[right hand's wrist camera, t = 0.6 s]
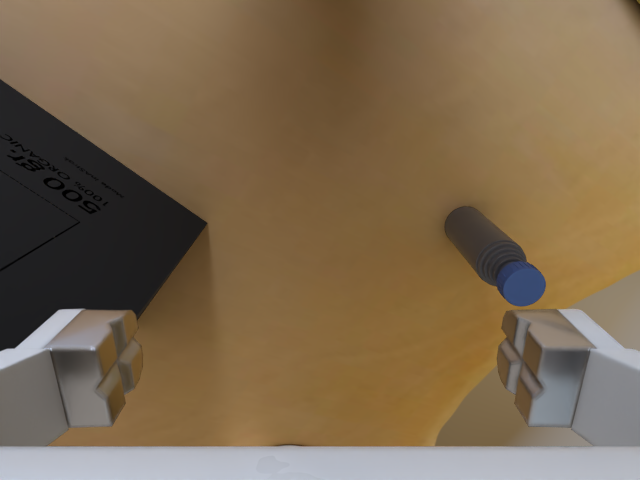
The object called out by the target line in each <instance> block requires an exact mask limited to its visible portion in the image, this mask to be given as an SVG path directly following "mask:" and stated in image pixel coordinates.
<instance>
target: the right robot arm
mask: <svg viewBox="0 0 640 480" xmlns="http://www.w3.org/2000/svg"><path fill="white" fill-rule="evenodd" d="M501 328H502V330H503V331H504V333H505V335H506V336H507V338H506V339H505V340H504V341H503V342H502V343H501V344H500V345H499V346H498V354H497V365H498V373H499V376H500V379H501V381H502V383H503V385H504V387H505V388H506V389H507V390H509V391H510V392H512V393H513V394H515V395H516V397H515V402H514V404H515V405H516V407H517V409H518V410H519V412H520V413H521V415H522V417H523V418H524V420H525V422H526V423H527V425H528V426H531V427H567V428H572V429H571V430H573V431H574V432H575V433H577V434H578V435H580V436H581V437H582V438H583V439H585V440H586V441H588V442H589V443H590V444H592V445H593V446H47V445H49V444H50V443H51V442H53V441H54V440H55V439H57V438H58V437H59V436H61V435H62V434H63V433H65V432H66V431H68V428H73V427H108V426H112V425H113V423H114V422H115V420H116V418H117V417H118V415H119V413H120V412H121V410H122V409H123V407H124V405H125V404H126V402H125V397H124V395H125V394H127V393H128V392H130V391H131V390H133V389H134V388H135V387H136V385H137V383H138V381H139V379H140V375H141V371H142V367H143V353H142V346H141V345H140V344H139V343H138V342H137V341H136V340H135V339H134V338H133V336H134V335H135V333H136V331H137V330H138V323H137V318H136V314H135V313H134V312H133V311H132V310H105V309H62V310H58V311H57V312H56V313H55V314H54V315H52V316H51V317H50V318H49V319H48V320H47V321H46V322H44V323H43V324H42V325H41V326H40V327H39V328H38V329H37V330H35V331H34V332H33V333H32V334H31V335H30V336H29V337H27V338H26V339H25V340H24V341H23V342H22V343H21V344H20V345H18V346H17V347H16V348H15V349H5V350H3V351H0V480H640V351H637V350H635V349H625V348H624V347H623V346H622V345H621V344H619V343H618V342H617V341H616V340H615V339H614V338H613V337H611V336H610V335H609V334H608V333H607V332H606V331H605V330H604V329H602V328H601V327H600V326H599V325H598V324H597V323H596V322H594V321H593V320H592V319H591V318H590V317H589V316H588V315H587V314H585V313H584V312H583V311H582V310H579V309H538V310H510V311H506V313H505V315H504V317H503V322H502V327H501Z"/></svg>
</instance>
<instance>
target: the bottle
mask: <svg viewBox="0 0 640 480" xmlns="http://www.w3.org/2000/svg"><path fill="white" fill-rule="evenodd" d="M445 232H446V235H447V236H448V238H449V239H450V240H451V241H452V243H453V244H454V245H455V246H456V248H457V249H458V250H459V252H460V253H461V254H462V255H463V257H464V258H465V259H466V260H467V262H468V263H469V264H470V265H471V267H472V268H473V269H474V270H475V272H476V273H477V274H478V275H479V277H480V278H481V279H482V280H483V281H485V282H487V283H488V284H490V285H493V286H497V285H496V284H497V281H496V280H497V277H498V274H499V273H500V271H501V270H502V269H503V268H504V267H505V266H507V265H508V264H510V263H512V262H517V261H524V262H526V256H525V254H524V252H523V250H522V248H521V247H520V246H519V245H518V244H517V243H515V242H514V241H513V240H512V239H511V238H510V237H508V236H507V235H506V234H505V233H504V232H503V231H501V230H500V229H499V228H498V227H497V226H495V225H494V224H493V223H492V222H491V221H490V220H488V219H487V218H486V217H485V216H484V215H483V214H481V213H480V212H479V211H478V210H476V209H475V208H472V207H460V208H458V209H456V210H454V211H453V212H452V213H450V215H449V216H448V217H447V219H446V222H445Z"/></svg>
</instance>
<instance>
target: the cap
mask: <svg viewBox="0 0 640 480" xmlns="http://www.w3.org/2000/svg"><path fill="white" fill-rule="evenodd" d="M496 281H497V284H496V285H497V289H498V290H499V292H500V294H501V295H502V296H503V297H504V298H505V299H506V300H507V301H508V302H509V303H511V304H513V305H515V306H527V305H530V304H533V303H534V302H536V301H537V300H539V299H540V297H541V296H542V295H543V293H544V291H545V287H546V283H545V279H544V277H543V275H542V274H541V272H540V271H538V269H536V268H535V267H534V266H533V265H532V264H529V263H528V262H524V261H517V262H512V263H510V264H508V265H507V266H505V267H504V268H503V269H502V270H501V271H500V273H499V274H498V277H497V280H496Z"/></svg>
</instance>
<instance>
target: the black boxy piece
mask: <svg viewBox="0 0 640 480" xmlns="http://www.w3.org/2000/svg"><path fill="white" fill-rule="evenodd" d="M18 144H20V145H18ZM21 145H22V146H23V147H22V148H21ZM27 149H29V150H30V151H29V150H27ZM11 150H12V151H11ZM14 151H16V152H15V153H14ZM31 152H33V154H32V156H31ZM34 154H35V155H36V156H35V155H34ZM19 156H20V158H22V157H24V158H23V159H21V160H20V159H19ZM28 159H31V162H29V161H30V160H29V161H27V160H28ZM43 159H44V160H45V161H44V160H43ZM46 161H47V162H46ZM49 163H50V166H49ZM33 164H35V165H34V166H33ZM38 164H39V165H38ZM23 166H25V167H26V168H24V167H23ZM33 167H34V168H36V169H37V168H38V167H39V169H38V170H36V169H34V168H33ZM41 167H42V169H44V168H45V170H42V169H41ZM53 167H55V168H54V169H55V171H54V169H52V168H53ZM57 169H59V170H57ZM30 170H31V171H30ZM61 172H62V173H61ZM63 173H64V174H63ZM65 174H67V175H65ZM9 176H10V177H9ZM68 176H69V177H70V178H69V177H68ZM45 178H46V181H47V182H48V183H47V186H46V185H45V183H46V181H44V180H45ZM52 178H55V179H53V180H52ZM66 178H68V179H66ZM56 179H58V181H61V182H62V183H60V182H58V181H56ZM15 180H16V181H15ZM43 181H44V182H43ZM18 182H19V183H18ZM63 183H64V185H65V188H64V185H63V187H62V186H61V185H62V184H63ZM23 185H24V186H23ZM29 189H30V190H29ZM35 193H36V194H35ZM40 196H41V197H40ZM43 198H44V199H43ZM51 203H52V204H51ZM55 206H56V207H55ZM58 208H59V209H58ZM64 212H66V213H64ZM68 214H69V215H68ZM206 225H207V223H206V222H205V221H203V220H202V219H201V218H199V217H198V216H196V215H195V214H193V213H192V212H190V211H189V210H188V209H186V208H185V207H183V206H182V205H180V204H179V203H178V202H176V201H175V200H173V199H172V198H170V197H169V196H167V195H166V194H165V193H163V192H162V191H160V190H159V189H157V188H156V187H154V186H153V185H152V184H150V183H149V182H147V181H146V180H144V179H143V178H141V177H140V176H139V175H137V174H136V173H134V172H133V171H131V170H130V169H129V168H127V167H126V166H124V165H123V164H121V163H120V162H118V161H117V160H116V159H114V158H113V157H111V156H110V155H108V154H107V153H105V152H104V151H103V150H101V149H100V148H98V147H97V146H95V145H94V144H92V143H91V142H90V141H88V140H87V139H85V138H84V137H82V136H81V135H80V134H78V133H77V132H75V131H74V130H72V129H71V128H69V127H68V126H67V125H65V124H64V123H62V122H61V121H59V120H58V119H56V118H55V117H54V116H52V115H51V114H49V113H48V112H46V111H45V110H43V109H42V108H41V107H39V106H38V105H36V104H35V103H33V102H32V101H30V100H29V99H28V98H26V97H25V96H23V95H22V94H20V93H19V92H18V91H16V90H15V89H13V88H12V87H10V86H9V85H7V84H6V83H5V82H3V81H2V80H0V351H3V350H5V349H15V348H16V347H17V346H18V345H20V344H21V343H22V342H23V341H24V340H25V339H26V338H27V337H29V336H30V335H31V334H32V333H33V332H34V331H35V330H37V329H38V328H39V327H40V326H41V325H42V324H43V323H44V322H46V321H47V320H48V319H49V318H50V317H51V316H52V315H54V314H55V313H56V312H57V311H58V310H62V309H105V310H132V311H133V312H134V313H135V314H136V318H137V320H138V318H139V317H140V315H141V314H142V313H143V311H144V310H145V309H146V307H147V306H148V304H149V303H150V302H151V300H152V299H153V298H154V296H155V295H156V293H157V292H158V291H159V289H160V288H161V287H162V285H163V284H164V282H165V281H166V280H167V278H168V277H169V276H170V274H171V273H172V271H173V270H174V269H175V267H176V266H177V265H178V263H179V262H180V260H181V259H182V258H183V256H184V255H185V254H186V252H187V251H188V249H189V248H190V247H191V245H192V244H193V243H194V241H195V240H196V238H197V237H198V236H199V234H200V233H201V232H202V230H203V229H204V227H205V226H206ZM54 236H55V238H53V237H54Z"/></svg>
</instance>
